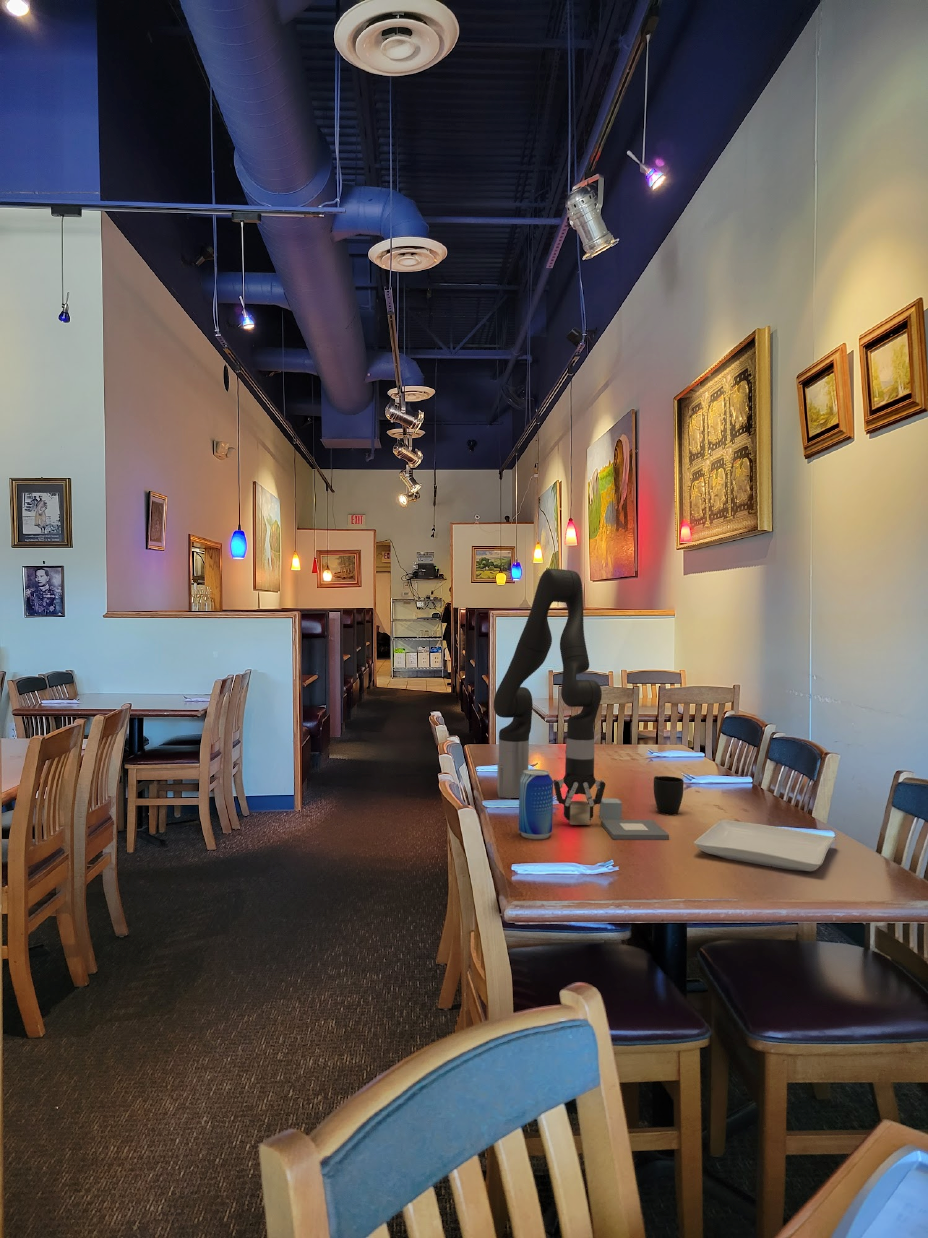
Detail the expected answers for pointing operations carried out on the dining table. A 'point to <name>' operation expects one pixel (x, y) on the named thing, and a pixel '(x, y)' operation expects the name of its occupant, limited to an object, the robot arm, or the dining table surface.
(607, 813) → the bluegrey cube
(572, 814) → the maple cube
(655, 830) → the board
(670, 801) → the mug
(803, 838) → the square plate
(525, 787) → the beer can
